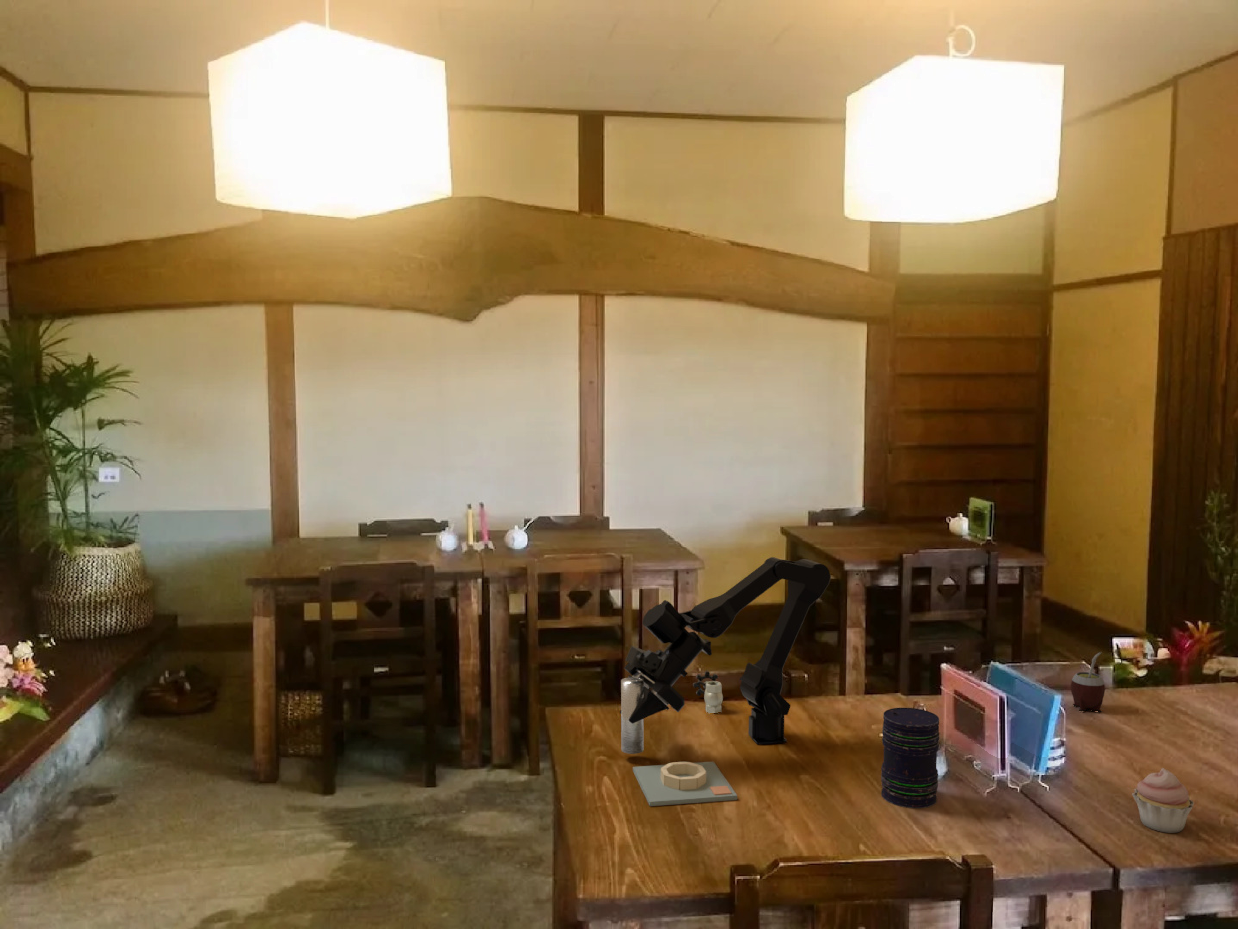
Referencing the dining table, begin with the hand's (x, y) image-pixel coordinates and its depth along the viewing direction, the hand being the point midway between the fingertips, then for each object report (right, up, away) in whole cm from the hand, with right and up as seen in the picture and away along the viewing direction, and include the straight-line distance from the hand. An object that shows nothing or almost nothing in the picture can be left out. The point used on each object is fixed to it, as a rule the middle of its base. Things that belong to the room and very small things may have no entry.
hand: (625, 718), depth 197 cm
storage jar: (+51, -10, -16) cm, 55 cm away
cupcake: (+91, -11, -28) cm, 95 cm away
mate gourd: (+106, -6, +31) cm, 110 cm away
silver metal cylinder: (+1, -7, +1) cm, 7 cm away
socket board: (+11, -10, -11) cm, 18 cm away
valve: (+20, -6, +33) cm, 39 cm away
